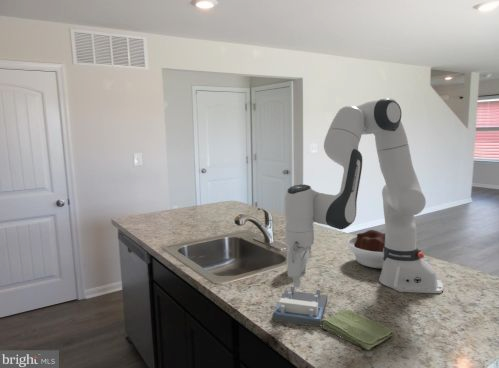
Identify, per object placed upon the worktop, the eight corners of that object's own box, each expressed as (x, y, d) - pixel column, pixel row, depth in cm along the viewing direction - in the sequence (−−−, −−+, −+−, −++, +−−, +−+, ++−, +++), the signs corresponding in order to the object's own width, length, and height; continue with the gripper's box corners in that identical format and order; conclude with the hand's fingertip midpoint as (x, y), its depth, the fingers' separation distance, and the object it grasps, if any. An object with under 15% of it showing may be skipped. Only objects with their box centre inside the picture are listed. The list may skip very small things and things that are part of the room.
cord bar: (318, 311, 118) (318, 302, 117) (316, 316, 115) (316, 306, 114) (281, 306, 121) (281, 297, 121) (278, 310, 119) (278, 301, 118)
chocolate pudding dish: (403, 256, 172) (404, 225, 169) (411, 277, 148) (412, 241, 146) (347, 253, 178) (348, 222, 176) (346, 272, 155) (347, 237, 152)
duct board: (327, 300, 129) (327, 288, 129) (320, 326, 112) (320, 312, 112) (285, 295, 134) (285, 283, 133) (272, 319, 117) (272, 306, 116)
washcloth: (369, 355, 99) (370, 343, 98) (318, 328, 112) (318, 318, 112) (395, 337, 107) (396, 326, 106) (345, 314, 120) (345, 305, 120)
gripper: (303, 248, 104) (304, 295, 106) (314, 229, 123) (314, 269, 125) (281, 247, 106) (282, 293, 108) (295, 228, 125) (295, 267, 127)
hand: (299, 280), depth 116 cm, fingers open, 8 cm apart
